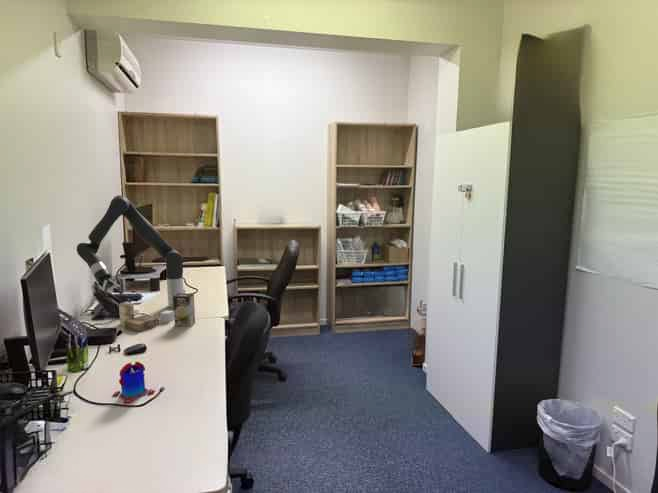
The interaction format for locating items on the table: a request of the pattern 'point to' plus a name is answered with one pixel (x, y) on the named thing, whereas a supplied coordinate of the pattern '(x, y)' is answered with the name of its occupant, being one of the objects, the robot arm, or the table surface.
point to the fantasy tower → (132, 383)
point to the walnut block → (140, 323)
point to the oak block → (126, 311)
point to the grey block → (167, 316)
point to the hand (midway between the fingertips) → (114, 295)
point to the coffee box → (184, 309)
